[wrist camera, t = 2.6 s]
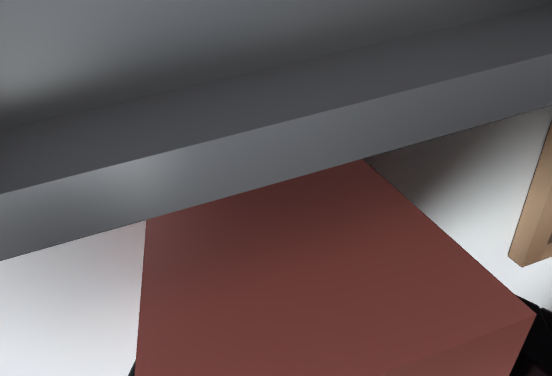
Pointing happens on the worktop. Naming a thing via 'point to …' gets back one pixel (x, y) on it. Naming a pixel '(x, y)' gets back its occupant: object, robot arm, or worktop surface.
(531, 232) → the wooden divided frame
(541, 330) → the robot arm
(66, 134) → the dice tray
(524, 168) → the worktop surface
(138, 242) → the worktop surface
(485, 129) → the worktop surface
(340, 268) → the pink cube
